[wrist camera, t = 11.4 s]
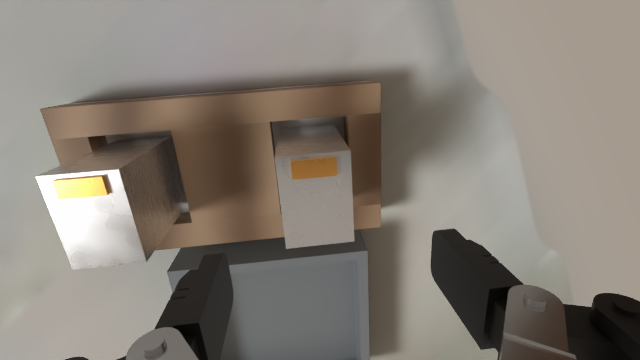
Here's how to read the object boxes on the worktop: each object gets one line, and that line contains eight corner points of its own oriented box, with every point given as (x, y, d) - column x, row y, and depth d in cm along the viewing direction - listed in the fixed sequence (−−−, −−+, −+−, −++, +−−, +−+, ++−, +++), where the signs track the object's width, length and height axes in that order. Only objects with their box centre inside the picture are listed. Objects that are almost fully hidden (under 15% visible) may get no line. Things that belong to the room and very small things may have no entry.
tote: (214, 377, 34) (205, 411, 30) (181, 247, 28) (166, 271, 25) (362, 358, 34) (370, 390, 31) (358, 229, 29) (367, 250, 26)
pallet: (114, 236, 27) (93, 256, 24) (70, 103, 23) (40, 109, 21) (371, 210, 28) (380, 227, 26) (370, 80, 25) (380, 82, 22)
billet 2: (287, 195, 26) (286, 250, 18) (279, 127, 24) (274, 158, 17) (336, 190, 26) (355, 243, 19) (332, 123, 24) (351, 151, 17)
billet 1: (136, 208, 25) (70, 271, 18) (116, 140, 24) (32, 178, 16) (188, 203, 26) (144, 263, 18) (172, 135, 24) (116, 170, 16)
